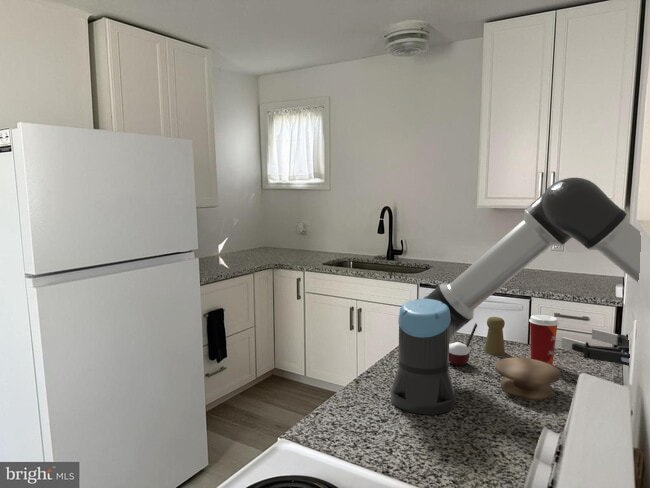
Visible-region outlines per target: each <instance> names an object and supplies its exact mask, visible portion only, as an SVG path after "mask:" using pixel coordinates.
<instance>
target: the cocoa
mask: <svg viewBox="0 0 650 488" xmlns="http://www.w3.org/2000/svg"><path fill="white" fill-rule="evenodd" d="M477 328H478V324H477V323H474V325H473V328H472V330H471V333H470V335H469V337H468V339H467V342H466V344H465V343H462V342H460V341H455V342H453V343H449V363H450V364H451V365H454V366H457V367H463V366H465V365H467V363H468V362H469V359H470V351H471V348H470V344H471V341H472V339H473V337H474V334H475V332H476V329H477Z"/></svg>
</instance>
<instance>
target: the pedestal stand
mask: <svg viewBox="0 0 650 488" xmlns="http://www.w3.org/2000/svg"><path fill="white" fill-rule="evenodd" d="M494 367H495V368H494V369H495V371H496V372H497V374H499V375H500V376H502V377H503V378H502V379H501V381H500V388H501V389H502V391H504V392H505V393H507V394H509V395H511V396H513V397H517V398H520V399H525V400H533V401H534V400H535V401H541V400H547V399H549V398H551V397H553V391H554V389H553V387H552V386H551V385H550V384H554V383H557V382H559V381H560V380H561V375H562V374H561V370H560V369H558V368H557V367H556V366H554V365H550V364H548V363H545V362H542V361H538V360H534V359H531V358H527V357H506V358H501V359H498V360H497V361H496V362H495V366H494Z"/></svg>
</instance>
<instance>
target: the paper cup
mask: <svg viewBox="0 0 650 488" xmlns="http://www.w3.org/2000/svg"><path fill="white" fill-rule="evenodd" d="M528 322H529V331H530V332H529V333H530V335H529V336H530V337H529V341H530V345H529V347H530V359H534V360H538V361H542V362H545V363H548V364H550V365H553V363H554V356H555V350H556V349H555V348H556V339H557V332H558V325H559V324H560V323H559V322H558V318H557V317H555V316H552V315H547V314H532V315H531V316H530V317H529V320H528ZM553 366H554V365H553Z"/></svg>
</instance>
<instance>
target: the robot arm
mask: <svg viewBox="0 0 650 488" xmlns="http://www.w3.org/2000/svg"><path fill="white" fill-rule="evenodd" d="M523 214H524V215H523V216H524V217H523V219H522V221H520V222H519V223H518V224H517V225H516V226H514V227H513V228H512V229H511V230H510V231H509V232H508V233H507V234H505V235H504V236H503V237H502V238H501V239H499V241H498V242H496V243H495V244H494V245H493V246H492V247H490V248H489V249H488V250H486V252H485V253H484V254H483V255H481V257H479V258H478V259H477V260H476V261H475V262H473V263H472V264H471V265H470V266H469V267H468V268H466V269H465V270H464V271H463V272H462V273H461V274H459V275H458V276H457V277H456V278H455V279H454V280H453V281H452V282H451V283H440V284H439V285H438V286H437V287H436V288H435V289H433V290H432V291H431V292H430V293H429V294H428V295H426V296H424V297H422V298H417V299H414V300H409V301H406V302H405V303H403V304H402V305H401V307H400V309H399V315H398V317H397V318H398V320H397V321H398V367H397V370H396V374H395V376H394V379H393V382H392V385H391V386H390V387H391V388H390V400H391V402H392V404H393V405H394V406H395V407H397V408H398V409H400V410H403V411H405V412H409V413H412V414H418V415H430V416H432V415H440V414H445V413H448V412H450V411H452V410H453V409H454V408H455V406H456V391H455V389H454V386H453V385H454V384H453V383H452V378H451V376H450V371H449V363H450V362H449V344H450V342H451V339H452V338H453V336H454V335H455V334H456V333H457V332H458V331H460V329H462V328H463V327H465V326H466V325H467V324H468V323H469V322H471V321H472V320H473V319H474V310H475V309H476V308H478V307H479V306H480V305H481V304H482V303H483V302H486V300H487V299H488V298H490V297H491V296H492V295H493V294H495V292H497V291H498V290H499V289H501V287H503V286H505V284H507V283H508V282H509V281H510V280H511V279H513V278H514V277H515V276H516V275H517V274H519V273H520V272H521V271H523V270H524V269H525V268H526V267H527V266H528V265H530V264H531V263H532V262H533V261H535V260H536V259H537V258H538V257H539V256H540V255H542V254H544V252H545V251H546V250H548V249H550V248H551V247H553V246H554V247H555V246H556V247H557V246H558V247H559V246H560V247H561V246H563V245H565V244H566V243H567V242H568V241H570V240H571V239H572V238H573V239H574V240H575V241H577V242H578V243H580V244H581V245H582V246H584V247H585V248H586V250H589V251H591V250H594V251H595V250H596V251H598V252H599V253H601V254H602V255H603V256H604V257H606V258H607V259H608V260H609V261H610V262H612V263H613V264H614V265H615V266H617V267H618V268H619V269H620V270H621V271H622V272H624V273H625V274H627V276H629V278H631V279H633V280H634V281H635V282H636V283H637V284H639V283H638V280H639V273H640V252H641V235H640V232H641V230H639V229H638V228H637V227H636V226H634V225H633V224H631V222H630V221H629V214H628V213H627V212H625V211H624V210H623V209H622V208H621V207H619V206H618V205H617V204H616V203H615V202H614V201H613V200H612V199H611V198H609V196H607V194H606V193H605V192H604V191H603V190H602V189H601V188H600V187H599V186H598V185H597V184H596V183H594V182H593V181H591V180H589V179H587V178H582V177H567V178H563V179H560V180H557V181H555V182H553V183H552V184H551V185H550V186H549V187H548V188H546V189H545V191H544V192H543V193H542V194H541V195H540V196H539V197H538V198H536V199H535V200H534V201H533V202H532V203H531V204H530V205H529V206H528V207H526V208H525V209H524V213H523ZM628 334H629V333H627V334H617V333H613V332H609V331H605V330H600V329H597V328H592V329H591V339H592V340H595V341H598V342H603V343H607V344H611V345H614V347H613V346H601V345H591V344H590V343H589V342H588V341H585V342H584V341H580V340H576V339H573V338H569V337H565V336H562V337H561V348H562V349H565V350H569V351H572V352H576V353H579V354H583V359H587V360H595V361H600V362H606V363H612V364H619V365H623V366H627V367H630V366H629V358H630V354H629V340H628ZM615 346H616V347H615Z"/></svg>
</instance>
